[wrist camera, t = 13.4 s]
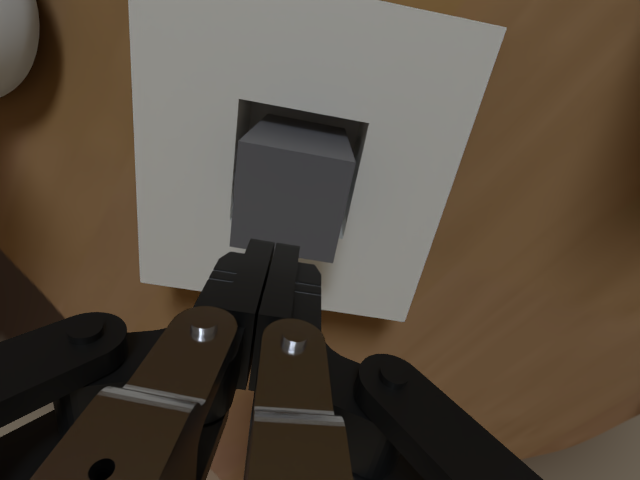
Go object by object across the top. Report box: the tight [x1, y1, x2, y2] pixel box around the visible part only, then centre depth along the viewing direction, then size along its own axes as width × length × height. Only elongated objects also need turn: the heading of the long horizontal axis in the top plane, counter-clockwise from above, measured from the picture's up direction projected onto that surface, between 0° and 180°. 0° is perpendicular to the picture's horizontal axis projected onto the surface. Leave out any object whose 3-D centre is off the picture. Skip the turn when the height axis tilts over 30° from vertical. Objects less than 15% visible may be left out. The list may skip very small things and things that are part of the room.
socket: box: [128, 0, 507, 322], centre depth 23 cm, size 18×18×5 cm
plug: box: [229, 114, 356, 263], centre depth 21 cm, size 5×5×9 cm
